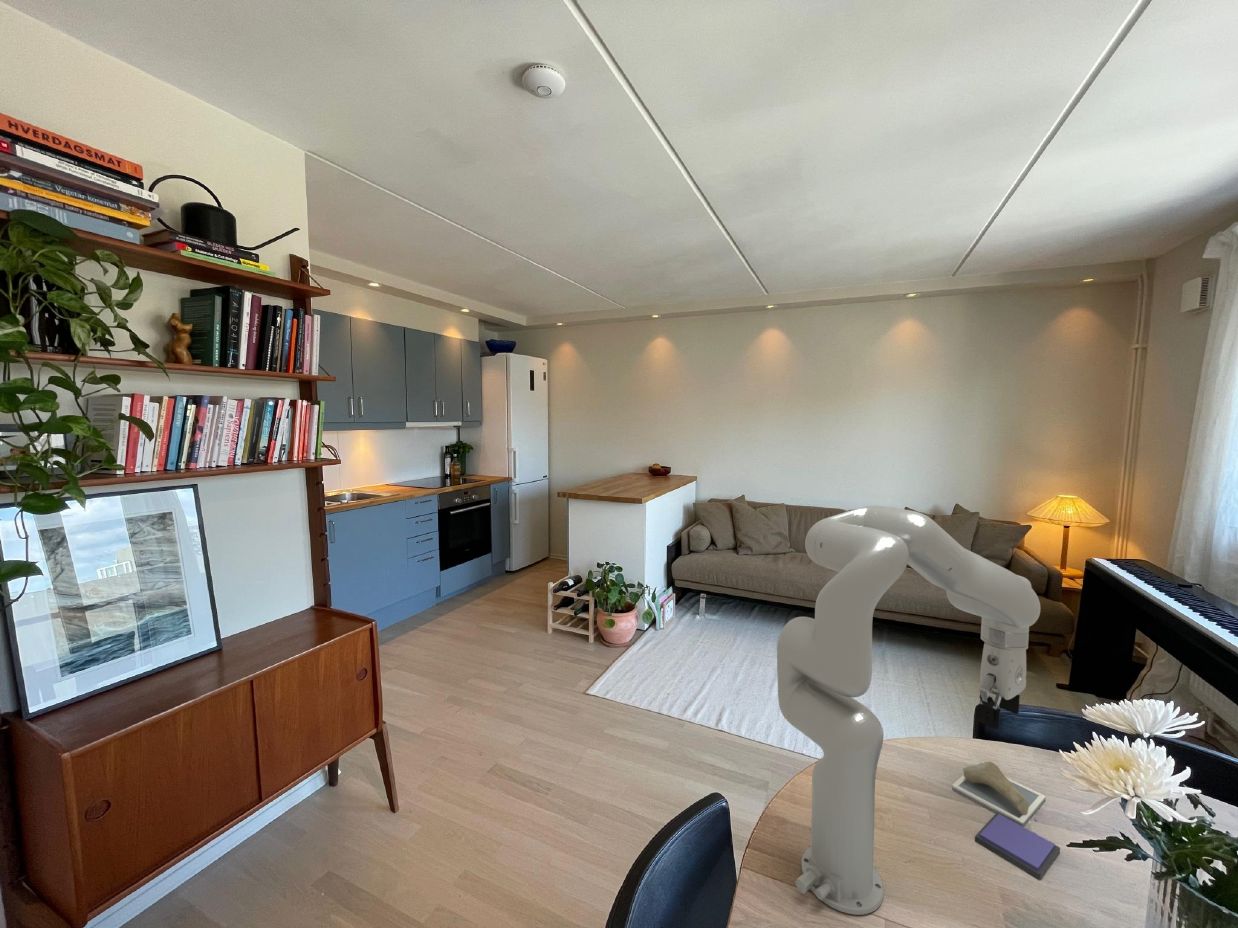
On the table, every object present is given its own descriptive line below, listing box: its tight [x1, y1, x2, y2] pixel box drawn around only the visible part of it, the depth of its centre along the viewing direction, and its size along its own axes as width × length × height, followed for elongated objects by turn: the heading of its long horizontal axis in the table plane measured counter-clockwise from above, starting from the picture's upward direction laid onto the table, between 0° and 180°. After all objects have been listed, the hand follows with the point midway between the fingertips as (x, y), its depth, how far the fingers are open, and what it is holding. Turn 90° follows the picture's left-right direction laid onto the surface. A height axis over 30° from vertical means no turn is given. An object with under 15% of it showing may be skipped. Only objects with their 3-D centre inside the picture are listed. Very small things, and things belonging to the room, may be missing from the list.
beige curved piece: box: [962, 761, 1028, 815], centre depth 100 cm, size 11×6×5 cm, turn 22°
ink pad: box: [974, 813, 1061, 881], centre depth 89 cm, size 10×10×2 cm
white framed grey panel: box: [951, 762, 1046, 828], centre depth 101 cm, size 12×12×1 cm
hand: (999, 717), depth 100 cm, fingers open, 9 cm apart
